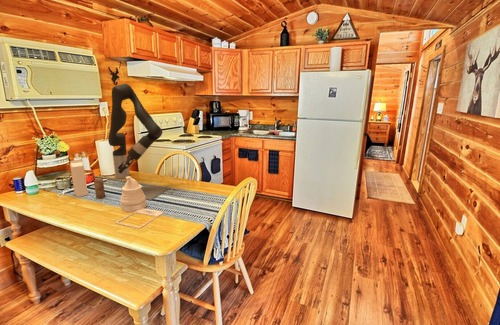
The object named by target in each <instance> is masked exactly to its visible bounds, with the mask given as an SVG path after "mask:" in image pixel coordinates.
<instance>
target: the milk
mask: <svg viewBox="0 0 500 325" xmlns="http://www.w3.org/2000/svg"><path fill="white" fill-rule="evenodd" d="M69 164H70V165H69V166H70V173H71V179H72V185H73V190H74V192H73V193H74V195H75V197H76V198H77V197H79V198H80V197H83V196H87V195H89V192H88V186H87V180H86V173H85V166H84V163H83V160H82V159H74V160H70V161H69Z"/></svg>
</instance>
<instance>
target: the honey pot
mask: <svg viewBox="0 0 500 325" xmlns="http://www.w3.org/2000/svg"><path fill="white" fill-rule="evenodd" d="M125 179H126V182H125V183H124V186H122V187H121V190H122V193H121V196H120V200H119V202H120V209H121V211H123V212H126V213H133V212H135V211H137V210H139V209H141V208H145V209H146V207H147V200H146V197H145V195H144V193H143V190H142V189H141V188H142V187H143V186H142V185H141V184H140V183H138V181H137V180H136V179H134V178H133V177H132V176H131V175H129V176H128V177H126V178H125Z"/></svg>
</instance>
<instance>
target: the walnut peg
mask: <svg viewBox="0 0 500 325" xmlns="http://www.w3.org/2000/svg"><path fill="white" fill-rule="evenodd" d="M93 185H94V191H95V192H94V193H95V199H97V200H100V199H101V200H102V199H104V197H105V198H106V193H105V192H106V191H105V186H104V185H105V184H104V179H102V178H97V179H94V180H93Z"/></svg>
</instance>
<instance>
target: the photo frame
mask: <svg viewBox="0 0 500 325" xmlns="http://www.w3.org/2000/svg"><path fill="white" fill-rule="evenodd" d="M134 214H137V215H138V214H140V215H145V216H150V217H153V218H151V219H149V220H148V221H146V222H145V223H144V224H142V225H140V226H136V225H131V224H128V223H127V224H126V223H121V222H122V221H124V220H126V219H128V218H129V217H131V216H134ZM163 214H165V212H164V211H161V210H155V209H149V208H146V207H145V208H141V209H139V210H137V211H133V212H131V213H130V214H128V215H126V216H125V217H122V218H121V219H119V220H118V221H116V222H115V223H114V224H115V225H121V226H126V227H129V228H134V229H142V228H144V227H145V226H147V225H148V224H149V223H151V222H153V221H154V220H156V219H157V218H158V217H161V216H162V215H163Z"/></svg>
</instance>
